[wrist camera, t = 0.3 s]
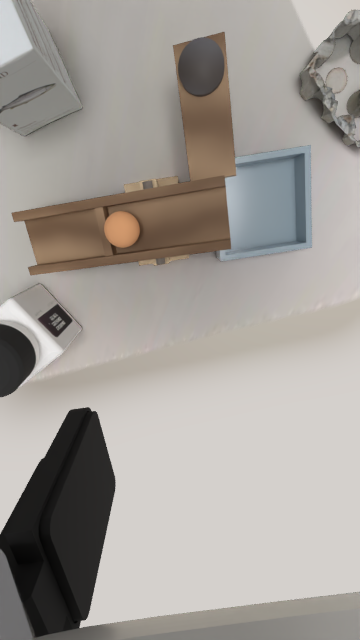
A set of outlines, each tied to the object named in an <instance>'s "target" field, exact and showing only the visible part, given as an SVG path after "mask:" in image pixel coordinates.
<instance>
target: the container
mask: <svg viewBox="0 0 360 640" xmlns="http://www.w3.org/2000/svg"><path fill="white" fill-rule="evenodd" d="M81 330H82V327H81V326H80V325H79V324H78V323H77V322H76V321H75V320H74V319H73V318H72V316H71V315H70V314H69V313H68V312H67V311H66V310H65V309H64V308H63V307H62V306H61V305H60V304H59V303H58V302H57V300H56V299H55V298H54V297H53V296H52V295H51V294H50V293H49V292H48V291H47V290H46V289H45V288H44V287H43V286H42V285H41V284H37V285H35V286H33V287H31V288H29V289H27V290H25V291H23V292H21V293H19V294H17V295H15V296H13V297H11V298H9V299H8V300H6V301H5V302H4V303H3V304H2V305H1V306H0V397H4V396H7V395H9V394H11V393H13V392H14V391H15V390H16V389H18V388H19V387H21V386H22V385H23V384H24V383H26V382H27V381H28V380H30V379H31V378H32V377H33V376H35V375H36V374H37V373H38V372H40V371H41V370H42V369H44V368H45V367H46V366H47V365H49V364H50V363H51V362H53V361H54V360H55V359H56V358H58V357H59V356H60V355H61V354H63V352H64V351H65V350H66V349H67V347H68V346H69V345H70V344H71V343H72V341H73V340H74V339H75V338H76V336H77V335H78V334H79V333H80V331H81Z"/></svg>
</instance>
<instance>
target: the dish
mask: <svg viewBox="0 0 360 640" xmlns="http://www.w3.org/2000/svg"><path fill="white" fill-rule="evenodd" d="M235 165H236V176H232V177H227V178H225V185H226V195H227V206H228V217H229V227H230V238H231V249H228V250H220V251H216V253H217V258H218V259H219V260H220V261H227V260H233V259H240V258H247V257H253V256H260V255H266V254H273V253H279V252H286V251H292V250H299V249H305V248H312V220H311V145H308V146H302V147H296V148H290V149H284V150H277V151H271V152H265V153H259V154H253V155H247V156H241V157H235Z"/></svg>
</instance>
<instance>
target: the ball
mask: <svg viewBox="0 0 360 640" xmlns="http://www.w3.org/2000/svg"><path fill="white" fill-rule="evenodd" d="M104 232H105V235H106V238H107V239H108V241H109V242H110V243H111V244H113V245H114V246H117V247H120V248H125V247H129V246H131V245H133V244H134V243H135V242H136V241H137V239H138V237H139V234H140V227H139V223H138V221H137V220H136V218H135V217H134V216H133V215H132V214H130V213H128V212H125V211H117V212H114V213H112V214H111V215H110V216H109V217H108V218H107V219H106V221H105V225H104Z"/></svg>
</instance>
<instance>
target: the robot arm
mask: <svg viewBox="0 0 360 640" xmlns="http://www.w3.org/2000/svg"><path fill="white" fill-rule="evenodd" d="M114 492H115V476H114V472H113V469H112V465H111V461H110V458H109V454H108V451H107V447H106V443H105V439H104V436H103V432H102V429H101V425H100V421H99V418H98V414H97V412H96V411H93V412H92V411H91V409H90V408H88V407H87V408H80V409H73V410H70V411H69V412H68V414H67V416H66V418H65V420H64V422H63V423H62V425H61V427H60V429H59V431H58V433H57V435H56V437H55V439H54V440H53V443H52V444H51V446H50V448H49V450H48V452H47V454H46V456H45V458H43V459H42V460H41V461H40V462H39V464H38V466H37V468H36V469H35V471H34V473H33V475H32V477H31V479H30V481H29V482H28V484H27V486H26V488H25V490H24V492H23V493H22V495H21V497H20V499H19V501H18V503H17V505H16V506H15V508H14V510H13V512H12V514H11V516H10V518H9V519H8V521H7V523H6V525H5V527H4V529H3V530H2V532H1V534H0V640H360V592H355V593H346V594H337V595H329V596H320V597H313V598H304V599H295V600H287V601H278V602H270V603H262V604H254V605H247V606H238V607H231V608H222V609H215V610H206V611H198V612H190V613H182V614H174V615H166V616H158V617H151V618H144V619H137V620H130V621H124V622H117V623H110V624H103V625H97V626H89V627H83V628H79V626H80V622H81V621H82V620H86V619H87V617H88V614H89V611H90V606H91V601H92V596H93V592H94V587H95V582H96V578H97V573H98V568H99V563H100V559H101V554H102V549H103V544H104V540H105V535H106V530H107V525H108V521H109V516H110V511H111V506H112V502H113V497H114Z"/></svg>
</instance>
